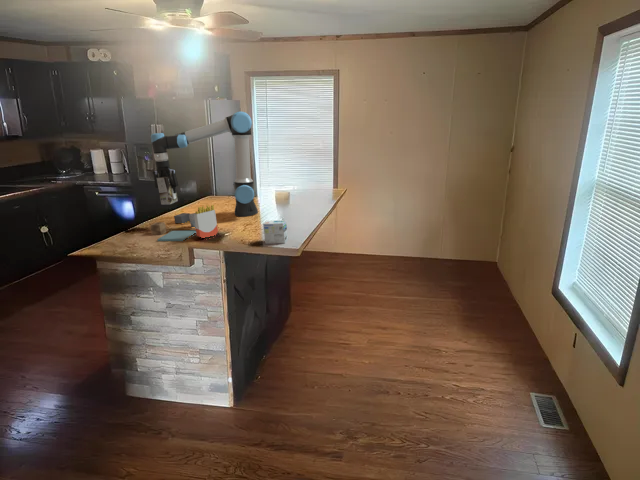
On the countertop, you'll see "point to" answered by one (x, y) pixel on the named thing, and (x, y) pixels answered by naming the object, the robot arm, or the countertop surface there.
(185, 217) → the charcoal box
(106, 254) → the countertop surface
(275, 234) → the light bulb box
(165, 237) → the pad
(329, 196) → the countertop surface
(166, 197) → the coffee box
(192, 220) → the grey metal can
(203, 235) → the french fries container
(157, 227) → the walnut block
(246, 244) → the countertop surface
